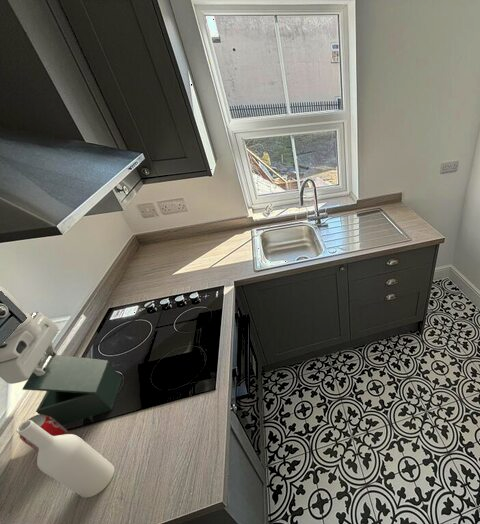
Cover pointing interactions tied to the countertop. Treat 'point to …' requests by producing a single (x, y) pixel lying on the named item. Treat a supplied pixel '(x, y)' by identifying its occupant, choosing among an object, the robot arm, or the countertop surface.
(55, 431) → the soda can
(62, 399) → the bin
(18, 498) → the countertop surface
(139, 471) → the countertop surface
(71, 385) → the bin lid
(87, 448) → the bottle
